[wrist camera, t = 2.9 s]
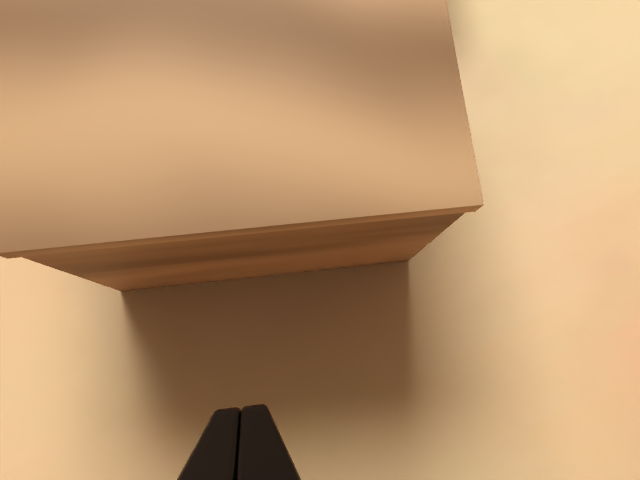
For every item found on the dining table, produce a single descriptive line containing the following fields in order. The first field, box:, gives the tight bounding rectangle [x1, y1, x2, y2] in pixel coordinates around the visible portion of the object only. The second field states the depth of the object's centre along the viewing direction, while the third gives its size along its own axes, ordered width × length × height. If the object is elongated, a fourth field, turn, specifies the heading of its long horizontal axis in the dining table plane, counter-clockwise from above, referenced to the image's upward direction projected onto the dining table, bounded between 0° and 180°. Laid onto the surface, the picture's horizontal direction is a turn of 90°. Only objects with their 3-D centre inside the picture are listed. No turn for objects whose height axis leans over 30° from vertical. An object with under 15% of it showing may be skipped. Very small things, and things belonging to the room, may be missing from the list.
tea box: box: [0, 0, 484, 291], centre depth 17 cm, size 10×11×8 cm
